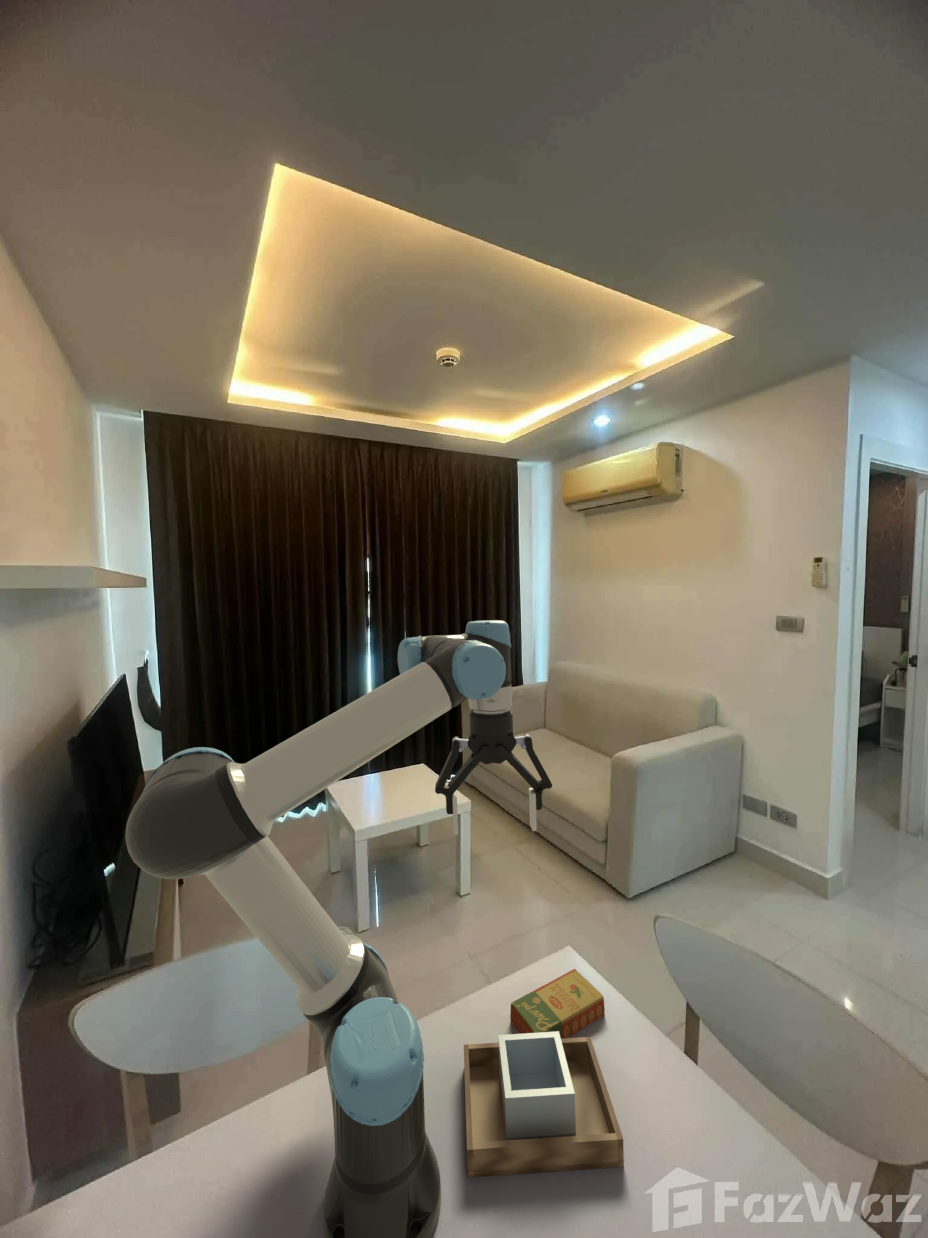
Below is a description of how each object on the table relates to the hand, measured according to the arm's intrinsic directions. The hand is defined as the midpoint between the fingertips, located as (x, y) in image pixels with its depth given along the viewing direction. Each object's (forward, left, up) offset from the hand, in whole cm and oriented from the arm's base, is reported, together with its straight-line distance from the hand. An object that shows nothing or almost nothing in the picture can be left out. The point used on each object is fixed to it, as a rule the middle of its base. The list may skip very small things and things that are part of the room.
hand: (494, 829), depth 84 cm
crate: (+4, -12, -39) cm, 41 cm away
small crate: (+4, -12, -38) cm, 40 cm away
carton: (+11, +4, -39) cm, 41 cm away
